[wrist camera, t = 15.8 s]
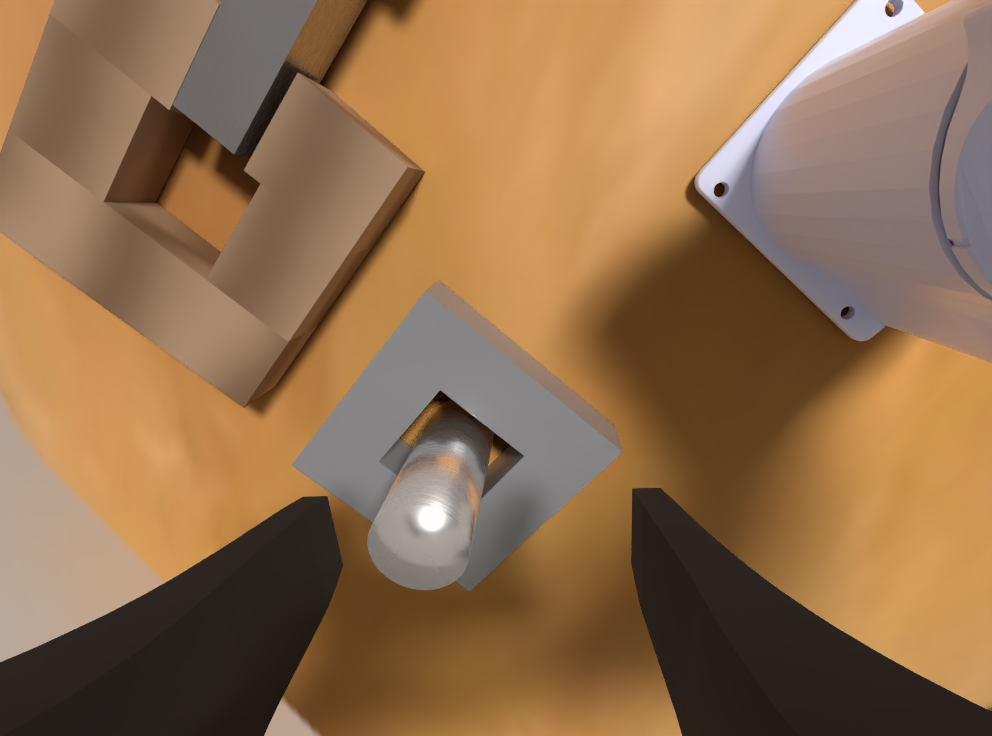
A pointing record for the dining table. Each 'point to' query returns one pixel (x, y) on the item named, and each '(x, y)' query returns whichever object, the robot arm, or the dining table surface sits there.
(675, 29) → the dining table surface
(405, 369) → the block
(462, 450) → the peg
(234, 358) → the socket block
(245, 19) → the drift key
